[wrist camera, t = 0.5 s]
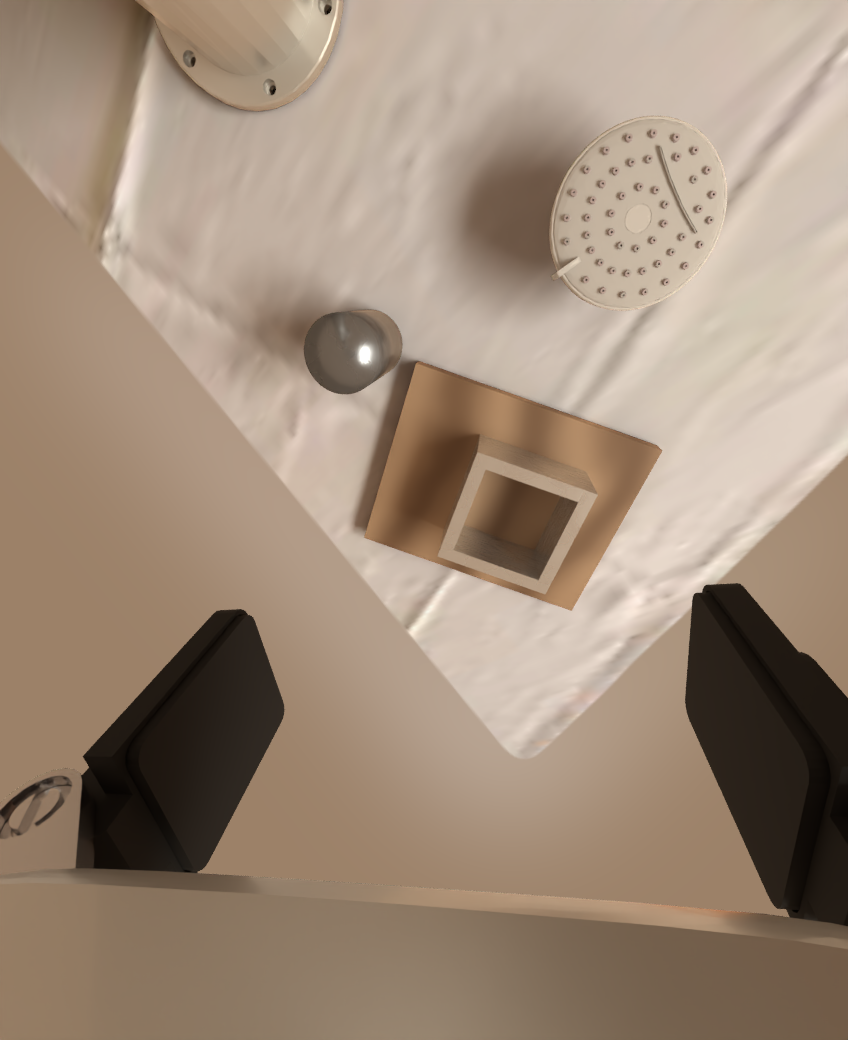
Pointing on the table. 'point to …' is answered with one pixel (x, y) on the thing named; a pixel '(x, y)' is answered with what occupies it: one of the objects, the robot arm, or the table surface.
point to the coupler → (352, 349)
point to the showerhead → (638, 213)
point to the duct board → (505, 486)
